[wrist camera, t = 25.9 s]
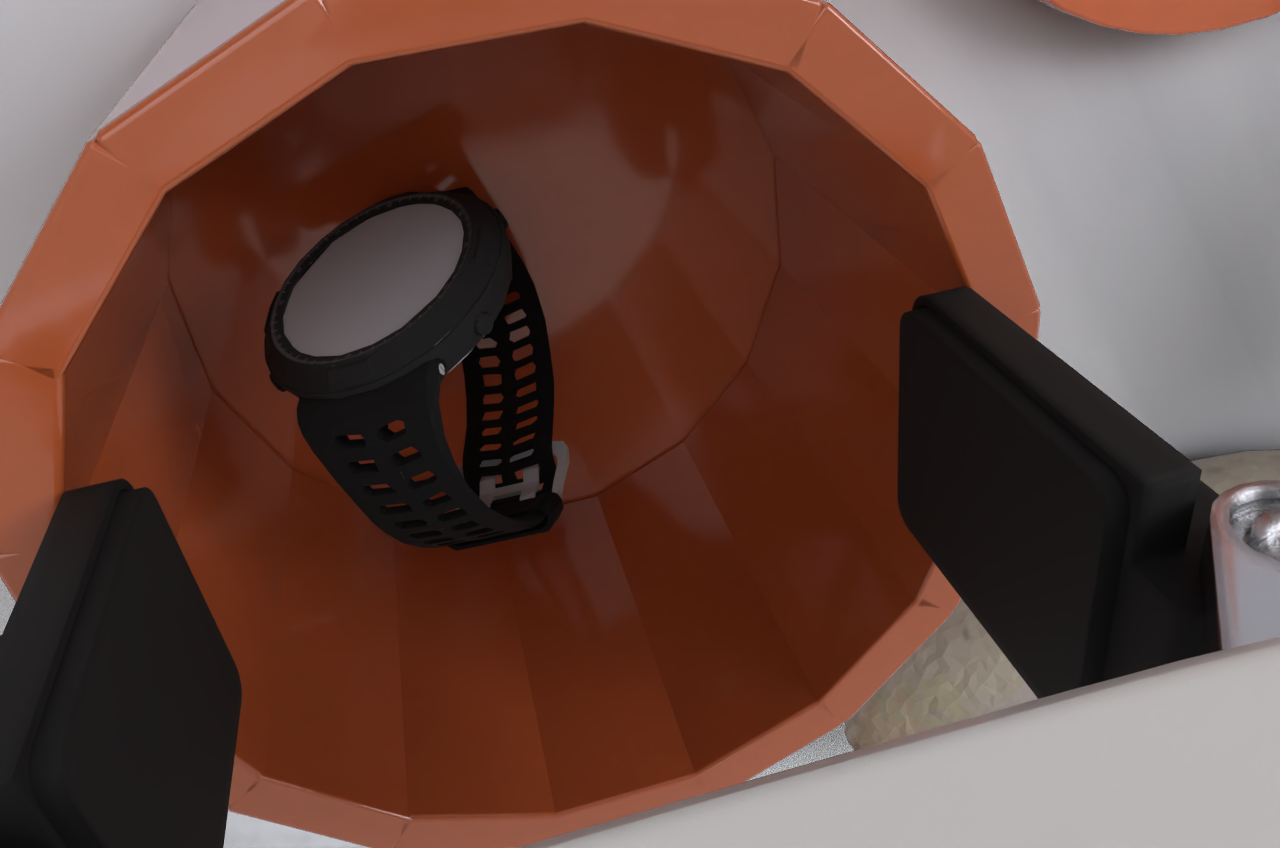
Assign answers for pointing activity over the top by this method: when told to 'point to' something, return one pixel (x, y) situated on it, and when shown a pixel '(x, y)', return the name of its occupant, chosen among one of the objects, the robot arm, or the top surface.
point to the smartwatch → (421, 369)
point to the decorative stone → (989, 649)
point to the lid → (1166, 14)
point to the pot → (520, 390)
